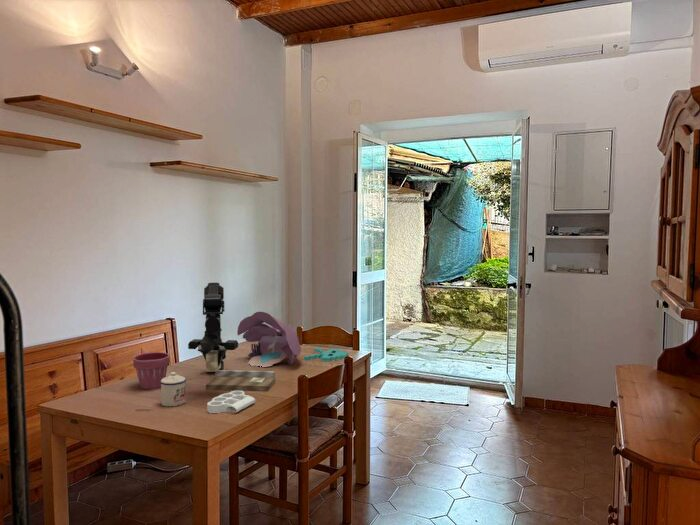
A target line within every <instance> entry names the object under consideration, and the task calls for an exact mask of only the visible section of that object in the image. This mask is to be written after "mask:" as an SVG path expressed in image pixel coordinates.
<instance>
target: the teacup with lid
mask: <svg viewBox="0 0 700 525" xmlns="http://www.w3.org/2000/svg"><path fill="white" fill-rule="evenodd" d="M160 383H161V387H160V390H161V391H160V392H161V396H160V398H161V400H160V401H161V402H160V403H161V405H162V406H163V407H168V406H169V408H170V407H171V406H172V407H178V405H179V406H181V405H184V404H185V403H186V391H187V390H186V386H187V379H186V377H185V376H182V375H179V374H177V372H174V371H173V372H170V374H169V375H166V377H165V378H163V379H162V380H161V382H160Z"/></svg>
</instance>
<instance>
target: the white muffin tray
mask: <svg viewBox="0 0 700 525" xmlns="http://www.w3.org/2000/svg"><path fill="white" fill-rule="evenodd" d="M254 403H256V398H254V397H253V396H251V395H248V394H245V391H244V390H231V391H230V392H226V393H221V394H219V395H218V396H215V397H213V398H211V401H208V402H207V403H206V404H207V405H206V406H207V407H206V412H207V413H208V412H209V413H208V414H211V413H217V414H221V412H222V413H229V414H231V413H230V412H232V411H233V410H235V409H236V412H235V413H234V414H236V413H238V412H240V411H241V410H244V409H246V408H247V407H249V406H251V405H253V404H254Z"/></svg>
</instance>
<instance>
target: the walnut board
mask: <svg viewBox="0 0 700 525" xmlns="http://www.w3.org/2000/svg"><path fill="white" fill-rule="evenodd" d="M214 375H215V376H214V377H213V378H212V379H210V381H209V382H207V383H206V384H205V390H210V389H217V390H218V391H219V390H220V391H246V390H250V391H251V392H253V391H254V392H257V391H258V392H269V391H270V389H271V388H272V387H271V386H273V385H274V384H275V383H276V371H272V370H271V371H268V370H237V369H236V370H233V369H232V370H231V369H229V370H228V369H224V370H218V371H216V372H215V374H214ZM274 382H275V383H274ZM217 390H216V391H217ZM268 390H269V391H268ZM250 391H249V392H250Z"/></svg>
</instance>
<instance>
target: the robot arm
mask: <svg viewBox="0 0 700 525" xmlns="http://www.w3.org/2000/svg"><path fill="white" fill-rule="evenodd" d="M203 290H204V291H203V297H204V298H203V299H202V316H205V322H204V327H205V330H204V336H202V339H201V338H200V339H197V338H194V339H192V340H190V341H189V342H188V345H187V349H188V350H196V349H197V352H200V353H201V354H202V356H203V357H204V360H205V362H206V354H207V353H208V352H210V351H211V350H214V351H218V366H220V364H221V368H220V369H219V370H225V368H224V367H225V365H224V364H225V363H224V360H225V359H226V354H227V353H226V352H227V351H234V350H236V349H238V348H239V342H238V340H236V339H235V340H234V339H227V340H226V341H225V342H223V341H222V340H223V339H222V338H221V337H222V336H221V332H222V327H221V325H222V324H221V321H222V320H221V318H222V317H221V315H223V314H224V312H225V300H224V299H225V297H224V296H225V295H224V287H223V286H221V285H220V282H208V283H207V285H206V286H205V287H204V288H203ZM205 373H206V374H214V375H215V372H206V371H205Z"/></svg>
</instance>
